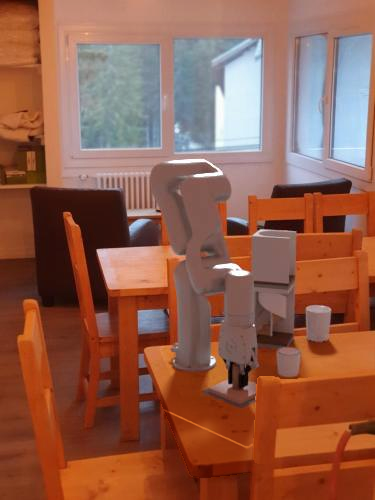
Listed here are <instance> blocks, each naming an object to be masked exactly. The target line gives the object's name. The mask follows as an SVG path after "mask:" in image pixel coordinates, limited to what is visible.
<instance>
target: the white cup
mask: <svg viewBox="0 0 375 500" xmlns="http://www.w3.org/2000/svg"><path fill="white" fill-rule="evenodd" d="M331 316H332V308H330V307H329V306H326V305H321V304H320V305H319V304H313V305H308V306H307V307H305V325H306V326H305V328H306V339H307V341H310V340H311V341H310V342H313V341H315V342H314V343H324V342H323V341H325V342H327V341H328V340H329V336H330V334H329V333H330V327H331V318H332V317H331Z"/></svg>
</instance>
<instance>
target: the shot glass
mask: <svg viewBox="0 0 375 500" xmlns="http://www.w3.org/2000/svg"><path fill="white" fill-rule="evenodd" d="M275 350H276V351H275V352H276V367H277V374H278V375H279V376H280V377H285V378H293V377H297V376H298V375H299V373H300V363H301V357H302V356H301V355H302V351H301V349H299V348H298V347H297V348H296V347H293V346H289V347H281V348H278V349H275Z"/></svg>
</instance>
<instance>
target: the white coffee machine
mask: <svg viewBox="0 0 375 500" xmlns="http://www.w3.org/2000/svg"><path fill="white" fill-rule="evenodd" d="M296 257H297V231H293V230H278V229H277V230H276V229H264V228H262V229H259V230H257V231H256V232H255V233H253V235H251V261H250V262H251V270H250V272H251V273H252V274H253V277H254V304H253V324H254V325H255V329H256V336H257V348H265V349H274V350H277V349H278V348H281V347H290V346H291V344H292V342H293V340H294V338H295V337H294V335H295V334H294V333H295V331H294V330H295V302H296V301H295V299H296V295H295V293H296V266H297V265H296V261H297V258H296Z"/></svg>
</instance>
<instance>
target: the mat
mask: <svg viewBox="0 0 375 500" xmlns="http://www.w3.org/2000/svg"><path fill="white" fill-rule="evenodd" d="M209 388H210V387H208V388H206V389H204V390H200V393H202V394H204V395H208V396H210V397H212V398H215V399H218V400H220V401H223V402H225V403H227V404H230V405H232V406H235V407H237V408H240V409H242V408H244V407H246V406H248V405H250V404H252V403H255V402H256V401H255V397H254V398H252V399H250V400H248V401H246V402H244V403H242V404H238V403H236V402H233V401H231V400H228V399H226V398H223V397H221V396H219V395H216V394H214V393H211V392H209Z"/></svg>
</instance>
